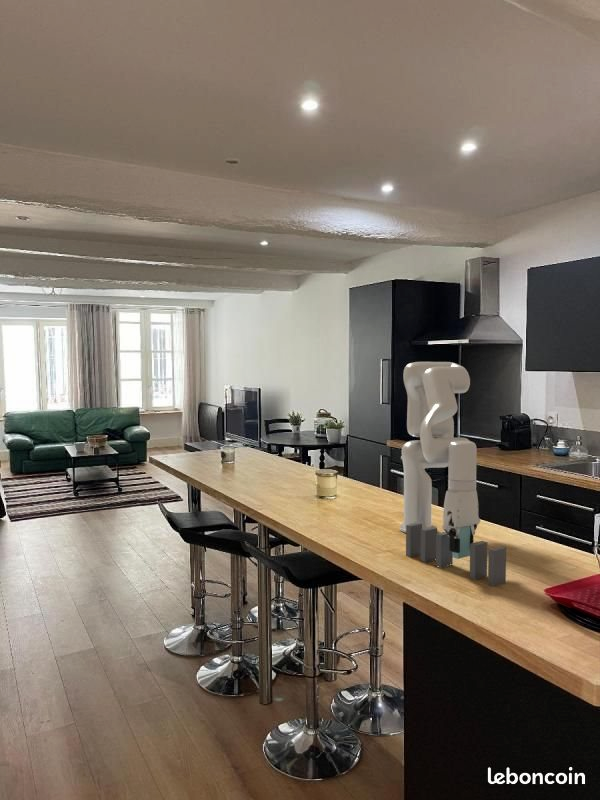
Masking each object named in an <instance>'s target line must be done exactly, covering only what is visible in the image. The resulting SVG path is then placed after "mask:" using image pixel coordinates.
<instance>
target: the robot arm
mask: <svg viewBox="0 0 600 800" xmlns="http://www.w3.org/2000/svg"><path fill="white" fill-rule="evenodd" d="M402 375H403V377H402V378H403V384H404V387H405V390H406V395H407V407H406V408H407V411H406V412H407V413H406V417H407V418H406V429H407V433H408V434H409V435H410V436H412V437H416V438H419V440H418V439H417V440H415V439H414V440H409V441H407V442H405V443H404V444H403V445H402V447H401V458H402V459H401V460H402V465H403V466H402V467H403V523H401V524H400V525H398V528H399V531H400V532H402V533H405V534H406V525H409V524H413V523H421V524H422V529H425V528H429V527H435V528H436V526H434V525H433V524H432V493H433V492H432V490H433V489H432V486H433V485H432V483H433V482H432V478H431V476H430V475H429V474H428V473H427V472H426V470H425V469H429V468H433V469H434V468H438V469H439V468H447V467H448V472H447V473H448V475H447V477H448V479H447V482H448V483H447V487H448V488H447V490H446V492H445V496H444V502H443V510H442V511H443V514H442V515H443V516H442V517H443V518H442V522H443V523H442V526H441V527H442V529H443V530H444V532H446V533H447V534H448V537H450V546H449V550H450V551H452V552H455V553H460V539H459V538H458V537H459V532H460V528H462V527H466V526H470V544H471V543H474V536H475V534H476V530H477V528H478V526H479V524H480V522H481V518H480V517H479V500H478V498H479V497H478V492H477V454H478V453H477V452H478V451H477V445H476V443H475V442H474V441H471V440H470V439H468V438H466V437H454V434H455V429H454V428H455V425H454V424H455V421H454V416H455V414H456V413H457V412H458V404H457V398H456V396H455V395H456V394H464V393H466V392H468V391H469V388H470V386H471V377H470V375H469V372H468V371H467V369H466V368H465V367H464V366H462V365H460V364H458V363H455V362H451V361H415V362H410V363H408V364H406V366H405V367H404V369H403V373H402ZM453 524H454V526H453ZM453 528H454V529H455V532H454V531H453Z"/></svg>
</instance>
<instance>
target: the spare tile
mask: <svg viewBox="0 0 600 800" xmlns="http://www.w3.org/2000/svg"><path fill="white" fill-rule="evenodd" d="M453 526H454V524H453ZM453 531H454V532H455V529H454V528H453ZM458 538H459V539H460V553H455V552H453V558H454V559H457V560H459V559H463V558H467V557H470V526H466V527H462V528H460V532H459V537H458Z"/></svg>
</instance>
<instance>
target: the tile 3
mask: <svg viewBox="0 0 600 800" xmlns="http://www.w3.org/2000/svg"><path fill="white" fill-rule="evenodd" d="M449 546H450V537H448V534H447V533H446V531H443V532H439V533H438V532H437V534H436V560H435V567H436V566H439V567H443V568H445V567H444V566H447V565H450V564H453V558H454V557H453V552H452V551H450V550H449ZM450 566H451V565H450ZM439 567H438V568H439ZM447 567H448V566H447Z"/></svg>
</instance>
